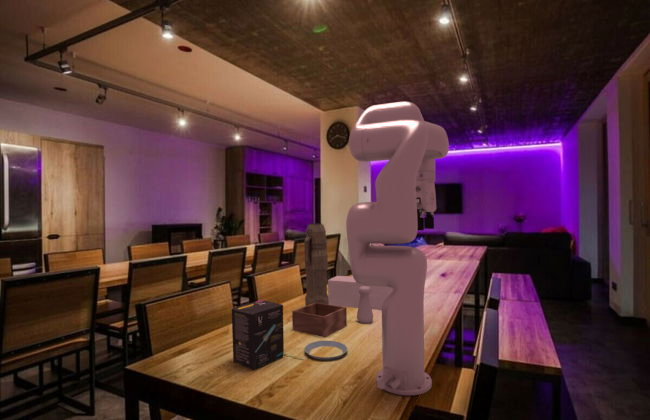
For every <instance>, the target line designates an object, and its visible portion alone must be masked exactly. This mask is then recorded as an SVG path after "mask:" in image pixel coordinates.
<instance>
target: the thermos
mask: <svg viewBox="0 0 650 420" xmlns="http://www.w3.org/2000/svg"><path fill="white" fill-rule="evenodd" d="M326 234H327V233H326V228H325V225H324V224H323V223H319V222H317V223H315V222H314V223H309V224H307V227H306V230H305V238H304V240H303V241H304V242H303V243H304V270H305V274H306V275H305V278H306V279H305V280H306V293H305V297H304V304H305V306H307V305H310V304H313V303H315V302H316V303H322V304H328V305H329V301H328V299H329V298H328V279H327V277H328V273H327V271H328V267H329V266H328V265H329V263H328V261H329V258H328V252H327V249H328V248H327V247H328V246H327V244H328V243H327V235H326ZM305 306H304V307H305Z"/></svg>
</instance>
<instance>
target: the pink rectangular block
mask: <svg viewBox="0 0 650 420" xmlns="http://www.w3.org/2000/svg"><path fill="white" fill-rule="evenodd" d="M361 286H368V287H370V288H371V293H370V294H369V297H370V303H371V308H372V310H373V311H374V310H376V311H382V305H383V302H384V300H385V299H386V298H387V296H388V295H389V294H390V293H391V292H392V291H393V288H391V287H385V286H371V285H362V284H359V283H357V282H356V281H355V280H354V278H353V276H347V275H336V276H334V277H331V278H329V279H327V295H328V301H329V305H334V306H340V307H346V308H356V309H358V306H359V299H360V293H359V291H358V290H359V287H361Z"/></svg>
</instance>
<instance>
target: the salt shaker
mask: <svg viewBox="0 0 650 420" xmlns="http://www.w3.org/2000/svg"><path fill="white" fill-rule="evenodd" d="M358 291H359V293H360V299H359V306H358V308H357V313H356V320H357V321H358V323H361V324H371V323H372V322H373V320H374V313H373V309H372V308H371V303H370V297H369V294H370V293H371V288H370V287H368V286H361V287H359V290H358Z"/></svg>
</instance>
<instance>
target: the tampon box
mask: <svg viewBox="0 0 650 420" xmlns="http://www.w3.org/2000/svg"><path fill="white" fill-rule="evenodd" d="M231 329H232V335H231V336H232V361H233V362H234V363H237V364H239V365H241V366H244V367H246V368H248V369H250V370H253V371H257V370H258V369H260V368H263V367H265V366H267V365H269V364H271V363H273V362H275V361H277V360H280V359H282V358H284V357H285V355H284V353H285V351H284V350H285V349H284V346H285V345H284V340H285V339H284V305H283V304H282V303H276V302H273V301H268V300H265V299H261V300H257V301H254V302H253V301H252V302H250V303H247V304H242V305H238V306H235V307H232V308H231Z"/></svg>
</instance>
